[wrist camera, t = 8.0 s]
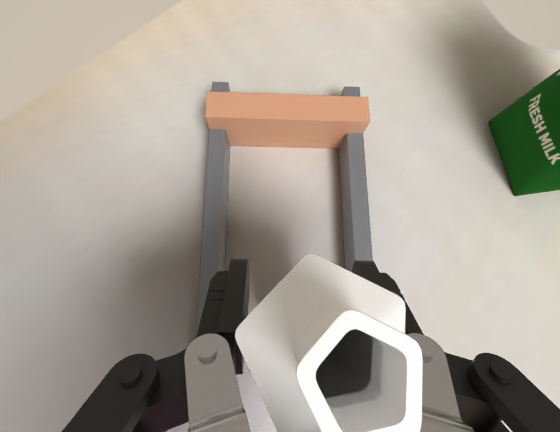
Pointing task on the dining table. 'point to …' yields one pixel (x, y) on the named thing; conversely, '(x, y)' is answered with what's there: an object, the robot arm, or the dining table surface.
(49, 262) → the dining table surface
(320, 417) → the white faceted vase
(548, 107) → the milk carton
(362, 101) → the guide channel
